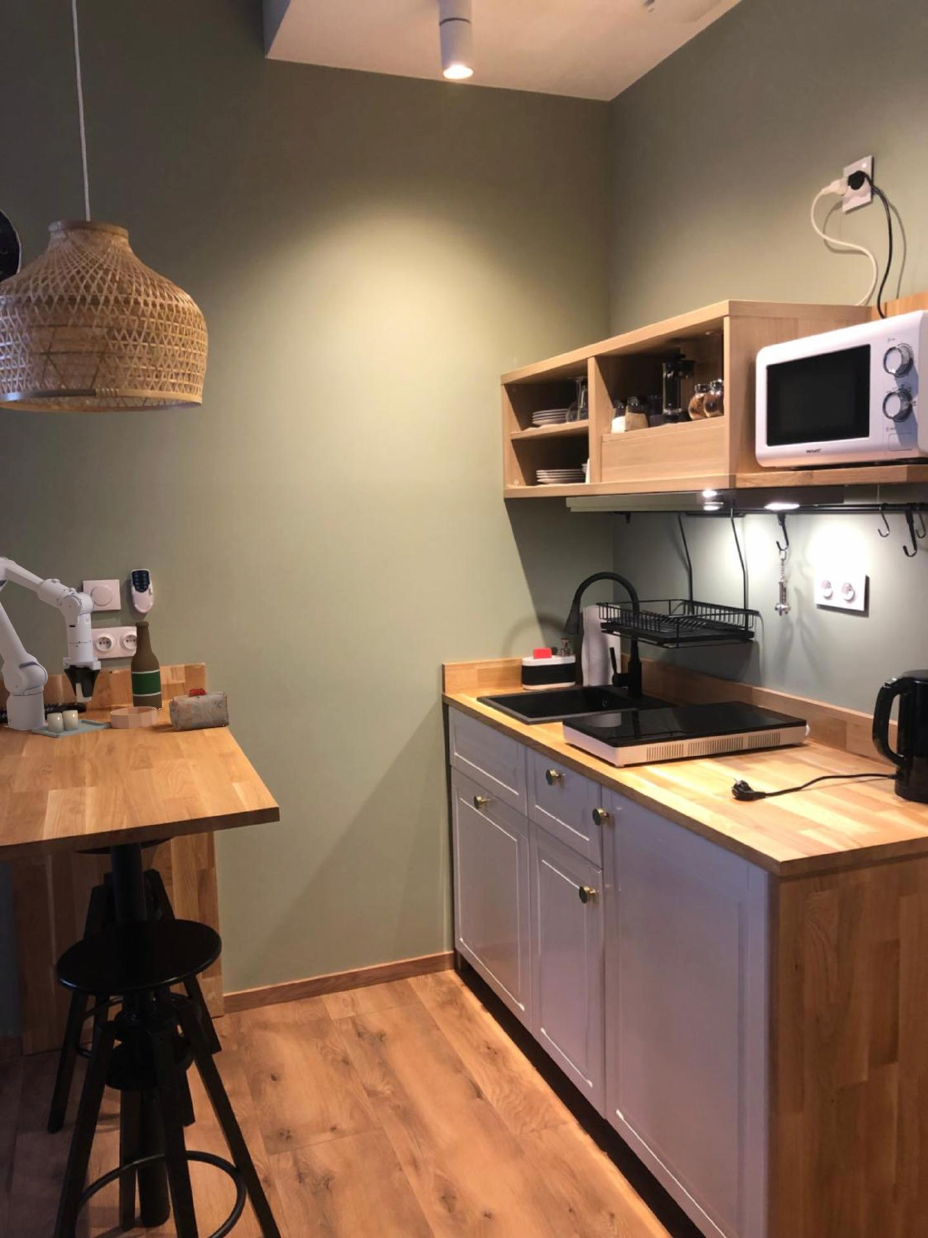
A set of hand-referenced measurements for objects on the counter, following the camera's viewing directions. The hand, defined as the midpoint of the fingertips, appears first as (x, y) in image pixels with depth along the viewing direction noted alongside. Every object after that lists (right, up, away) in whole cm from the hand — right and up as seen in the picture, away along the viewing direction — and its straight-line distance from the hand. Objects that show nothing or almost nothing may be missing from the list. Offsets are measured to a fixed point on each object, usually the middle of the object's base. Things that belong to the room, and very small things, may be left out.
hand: (83, 696), depth 257 cm
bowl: (+12, -8, +2) cm, 14 cm away
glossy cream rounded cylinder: (-2, -8, -2) cm, 9 cm away
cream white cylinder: (0, -1, 0) cm, 1 cm away
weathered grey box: (+29, -8, -2) cm, 31 cm away
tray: (-2, -8, -2) cm, 9 cm away
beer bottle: (+9, -6, +23) cm, 25 cm away
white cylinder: (-5, -8, -5) cm, 11 cm away
